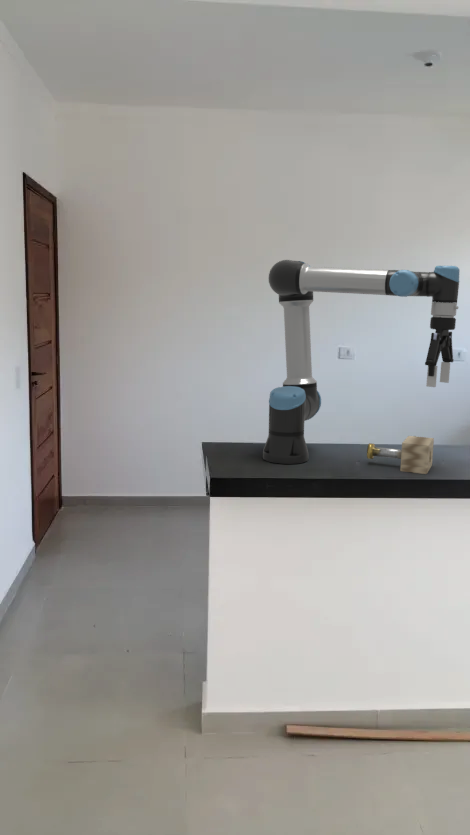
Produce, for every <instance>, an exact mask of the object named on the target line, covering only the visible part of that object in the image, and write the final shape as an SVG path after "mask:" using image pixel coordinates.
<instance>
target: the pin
mask: <svg viewBox="0 0 470 835" xmlns="http://www.w3.org/2000/svg"><path fill="white" fill-rule="evenodd" d="M401 453H402V449H400V448H399V449H397V448H389V447H388V448H387V447H380V446H376V445H375V443H370V442H369V443H368V444H367V449H366V458H367V459H369V460H373V459H374V458H375V457H378V458H387V459H397V460H401Z"/></svg>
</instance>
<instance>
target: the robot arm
mask: <svg viewBox="0 0 470 835" xmlns="http://www.w3.org/2000/svg"><path fill="white" fill-rule="evenodd" d="M268 283H269V286H270V288H271V290H272V291H273V292H274V293H275V294H277V295H278V303H279V304H280V306H282V307H283V318H284V319H283V321H284V340H285V341H284V344H285V345H284V346H285V360H286V362H285V364H286V365H285V367H286V379H285V380H284V381H283V382H282V386H281V387H280V386H278V387H276V388H273V389H272V390H271V391H269V392H270V394H269V398H268V405H269V406H268V436H267V439H266V442H265V444H264V447H263V451H262V459H263V460H264V461H266V462H270V463H275V464H280V465H281V464H285V465H289V464H290V465H295V464H301V463H305V462H308V461H309V455H310V454H309V449H308V447H307V443H306V439H305V421H306V422H307V421H308V420H311V419H312V418H314V416H316V415H317V414H318V413H319V411H320V409H321V407H322V397H321V394H320V392H319V391H318V385H317V384H318V382H317V380H316V379H315V378H314V377H313V372H312V371H313V370H312V369H313V368H312V367H313V366H312V348H311V347H312V343H311V321H310V317H311V316H310V305H311V304H312V303H313V302H314V292H317V293H337V294H339V293H340V294H357V295H358V294H359V295H376V296H377V295H380V296H391V297H393V296H394V297H395V296H396V297H402V298H403V297H405V298H406V297H428V298H429V297H431V298H432V301H431V309H430V310H431V311H430V315H431V317H430V321H429V322H430V324H429V328H430V329H431V330H435V331H434V332H431V334H430V335H431V336H430V341H429V347H428V350H427V355H426V359H425V362H424V365H425V366H427V374H426V387H428V388H430V387H431V388H436V387H437V377H438V365H437V364H438V361H439V358H440V355H441V358H442V359H441V360H442V361H441V362H440V373H439V374H440V375H439V383H444V384H449V382H450V372H451V371H450V370H451V363H454V353H453V330H455V329H456V323H457V322H456V320H457V319H456V318H455V317H456V316H457V310H458V309H459V306H458V296H459V290H460V289H459V288H460V268H459V267H458V266H456V265H436V266H434V269H433V271H431V272H430V271H427V272H426V271H412V270H409V269H378V268H377V269H376V268H375V269H374V268H373V269H372V268H351V267H327V266H326V267H325V266H324V267H323V266H311V265H309V264H308V263H306V262H304V261H301V260H290V259H283V260H280V261H277V262H276V263H275V264H273V266H272V267H271V269H270V271H269V273H268Z"/></svg>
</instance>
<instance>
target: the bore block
mask: <svg viewBox="0 0 470 835" xmlns="http://www.w3.org/2000/svg"><path fill="white" fill-rule="evenodd" d="M415 436H416V435H408V436H407V437H406V438H405V439H404V440H403V441H402V442H401V450H402V453H401V459H400V472H403V473H404V472H405V473H411V474H413V473H414V474H420V475H421V474H423V475H427V474H428V473H429V471H430V470H431V468H432V466H433V458H434V455H433V454H434V442H435V439H434V437H425V436H424V437H423V436H416V437H415Z"/></svg>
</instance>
